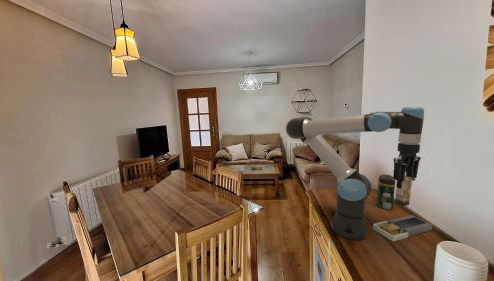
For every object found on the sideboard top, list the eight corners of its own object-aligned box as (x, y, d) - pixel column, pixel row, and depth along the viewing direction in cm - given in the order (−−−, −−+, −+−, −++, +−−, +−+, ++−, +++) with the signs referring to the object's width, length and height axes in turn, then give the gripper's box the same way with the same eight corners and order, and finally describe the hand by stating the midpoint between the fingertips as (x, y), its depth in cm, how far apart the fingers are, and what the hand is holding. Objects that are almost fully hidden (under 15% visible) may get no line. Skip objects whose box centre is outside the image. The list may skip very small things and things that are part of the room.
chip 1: (389, 236, 90) (390, 230, 89) (381, 231, 93) (382, 225, 93) (394, 235, 90) (395, 229, 90) (386, 230, 94) (387, 224, 94)
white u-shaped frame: (392, 242, 86) (393, 237, 86) (372, 229, 96) (372, 224, 95) (407, 238, 89) (408, 233, 88) (386, 225, 98) (386, 221, 98)
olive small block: (394, 235, 90) (395, 229, 90) (386, 230, 94) (387, 224, 94) (399, 234, 91) (400, 228, 91) (391, 229, 95) (392, 223, 95)
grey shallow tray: (406, 237, 89) (407, 231, 89) (387, 226, 98) (387, 220, 97) (431, 230, 94) (432, 224, 93) (411, 220, 102) (411, 215, 102)
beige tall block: (403, 206, 90) (406, 178, 88) (395, 202, 93) (398, 175, 91) (409, 205, 91) (412, 177, 89) (400, 201, 94) (403, 174, 92)
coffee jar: (375, 201, 123) (378, 172, 120) (391, 204, 120) (394, 174, 117) (376, 208, 115) (379, 177, 112) (393, 211, 111) (397, 179, 108)
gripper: (403, 145, 81) (397, 200, 85) (432, 143, 86) (425, 194, 90) (386, 142, 89) (381, 193, 92) (413, 140, 93) (407, 188, 97)
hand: (403, 193), depth 91 cm, fingers closed on beige tall block, 4 cm apart
